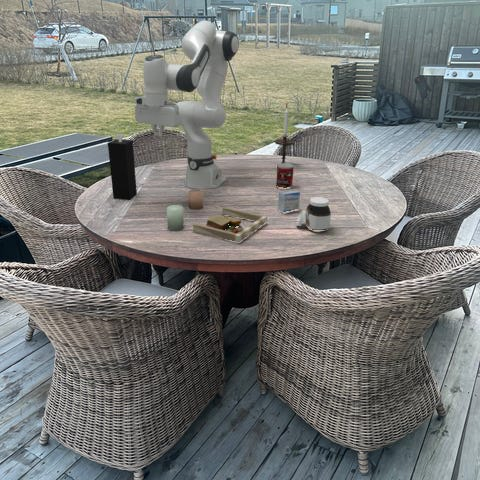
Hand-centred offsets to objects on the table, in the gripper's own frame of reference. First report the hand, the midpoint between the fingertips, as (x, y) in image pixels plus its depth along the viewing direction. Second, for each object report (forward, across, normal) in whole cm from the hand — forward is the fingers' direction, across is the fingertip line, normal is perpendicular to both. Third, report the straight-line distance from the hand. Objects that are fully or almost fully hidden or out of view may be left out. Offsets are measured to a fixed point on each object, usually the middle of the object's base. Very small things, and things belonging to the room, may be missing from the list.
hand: (158, 136), depth 179 cm
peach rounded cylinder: (+29, -14, -5) cm, 33 cm away
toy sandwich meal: (+30, -37, +10) cm, 48 cm away
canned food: (+29, -34, -51) cm, 68 cm away
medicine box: (+29, -49, -22) cm, 61 cm away
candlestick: (+29, -18, -85) cm, 92 cm away
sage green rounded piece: (+29, -20, +17) cm, 39 cm away
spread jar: (+29, -64, -10) cm, 71 cm away
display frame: (+29, -37, +6) cm, 48 cm away
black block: (+29, +20, +1) cm, 36 cm away
